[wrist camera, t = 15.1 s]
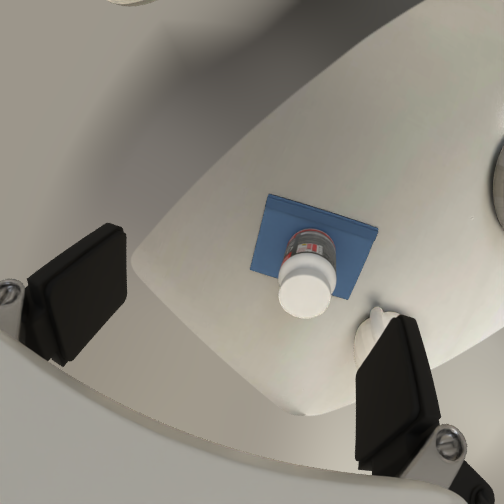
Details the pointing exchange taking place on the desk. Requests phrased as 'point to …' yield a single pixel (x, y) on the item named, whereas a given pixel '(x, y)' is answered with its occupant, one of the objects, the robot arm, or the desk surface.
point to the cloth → (307, 217)
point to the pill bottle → (307, 274)
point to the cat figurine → (370, 333)
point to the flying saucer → (499, 188)
